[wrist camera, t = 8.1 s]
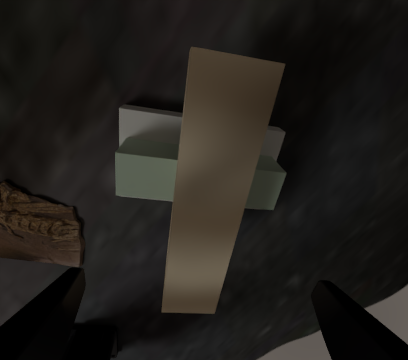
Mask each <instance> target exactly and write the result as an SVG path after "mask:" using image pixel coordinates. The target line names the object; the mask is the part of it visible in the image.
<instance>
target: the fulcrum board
mask: <svg viewBox="0 0 408 360" xmlns="http://www.w3.org/2000/svg"><path fill="white" fill-rule="evenodd" d="M182 116H183V113H179V112H173V111H166V110H159V109H152V108H146V107H139V106H132V105H126V104H124V105H123V106H121V107H120V108H119V148H118V150H117V151H116V152H115V167H116V195H119V196H123V197H134V198H144V199H155V200H165V201H173V196H174V187H175V178H176V169H177V160H178V151H179V143H180V134H181V125H182ZM285 133H286V132H284V131H283V130H282V129H280V128H279V127H273V126H268V127H267V131H266V134H265V138H264V141H263V145H262V148H261V152H260V155H259V159H258V163H257V166H256V170H255V173H254V177H253V180H252V184H251V187H250V191H249V194H248V198H247V201H246V205H245V208H249V209H266V210H274V207H275V204H276V201H277V199H278V196H279V193H280V190H281V188H282V185H283V182H284V179H285V176H286V174H287V173H286V172H285V171H284V170H283V169H282V168H281V166H280V165H279V164H278V163H277V162H276V161H277V158H278V155H279V152H280V148H281V145H282V142H283V139H284V136H285Z"/></svg>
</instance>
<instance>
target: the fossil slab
mask: <svg viewBox="0 0 408 360" xmlns="http://www.w3.org/2000/svg"><path fill="white" fill-rule="evenodd" d="M81 225H82V224H81V223H80V221H79V220H77V218H76V214H75V210H74V208H73V207H72V206H70V207H67V206H64V205H62V204H57V203H51V202H49V201H47V200H45V199H43V198H41V197H40V198H38V197H34V196H30V195H27V194H25V193H23V192H22V190H21V189H18V188H16V187H13V186H12V185H11V184H9V183H8V182H6V181H2V182H1V183H0V257H1V258H9V259H19V260H27V261H36V262H45V263H53V264H55V263H58V264H60V265H67V266H75V267H80V266H81V265H82V260H83V251H84V248H85V241H84V239H83V237H82V236H81Z"/></svg>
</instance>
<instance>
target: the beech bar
mask: <svg viewBox="0 0 408 360" xmlns="http://www.w3.org/2000/svg"><path fill="white" fill-rule="evenodd" d="M284 67H285V64H283V63H278V62H273V61H267V60H262V59H256V58H251V57H245V56H240V55H235V54H229V53H224V52H218V51H213V50H207V49H202V48H197V47H191V49H190V53H189V62H188V71H187V80H186V89H185V98H184V107H183V116H182V125H181V134H180V143H179V151H178V160H177V169H176V178H175V187H174V196H173V205H172V214H171V223H170V232H169V241H168V250H167V259H166V269H165V280H164V290H163V301H162V311H161V312H166V313H207V314H215V310H216V307H217V303H218V300H219V296H220V293H221V289H222V286H223V282H224V279H225V275H226V272H227V268H228V265H229V261H230V258H231V254H232V251H233V247H234V243H235V240H236V236H237V233H238V229H239V226H240V222H241V219H242V215H243V212H244V208H245V205H246V201H247V198H248V194H249V191H250V187H251V184H252V180H253V177H254V173H255V170H256V166H257V163H258V159H259V155H260V152H261V148H262V145H263V141H264V138H265V134H266V131H267V127H268V124H269V120H270V117H271V113H272V110H273V106H274V103H275V99H276V96H277V92H278V89H279V85H280V82H281V78H282V75H283V71H284Z"/></svg>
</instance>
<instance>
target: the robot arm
mask: <svg viewBox="0 0 408 360" xmlns="http://www.w3.org/2000/svg"><path fill="white" fill-rule="evenodd" d="M85 285H86V282H85V273H84V269H83V268H77V267H72V268H69V269H68V270H67V271H66V272H64V273H63V274H62V275H61V276H60V277H59V278H57V279H56V280H55V281H54V282H53V283H51V284H50V285H49V286H48V287H47V288H45V289H44V290H43V291H42V292H41V293H39V294H38V295H37V296H36V297H35V298H34V299H32V300H31V301H30V302H29V303H28V304H26V305H25V306H24V307H23V308H22V309H20V310H19V311H18V312H17V313H16V314H14V315H13V316H12V317H11V318H10V319H9V320H7V321H6V322H5V323H4V324H3V325H1V326H0V360H110V358H116V357H117V354H118V339H117V328H116V327H98V326H73V325H74V321H75V318H76V315H77V312H78V309H79V306H80V303H81V300H82V297H83V294H84V290H85ZM311 298H312V302H313V306H314V309H315V312H316V315H317V319H318V322H319V325H320V328H321V332H322V335H323V338H324V341H325V343H326V346H327V349H328V351H329V354H330V356H331V359H332V360H408V345H407V344H406V343H405V342H404V341H403V340H402V339H400V338H399V337H398V336H397V335H395V334H394V333H393V332H392V331H391V330H389V329H388V328H387V327H386V326H384V325H383V324H382V323H381V322H379V321H378V320H377V319H376V318H374V317H373V316H372V315H371V314H370V313H369V312H367V311H366V310H365V309H364V308H362V307H361V306H360V305H359V304H358V303H356V302H355V301H354V300H353V299H352V298H350V297H349V296H348V295H347V294H345V293H344V292H343V291H342V290H341V289H339V288H338V287H337V286H336V285H334V284H333V283H332V282H330V281H325V280H320V281H318V283H317V285H316V286H315V288H314V290H313V292H312V294H311Z"/></svg>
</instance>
